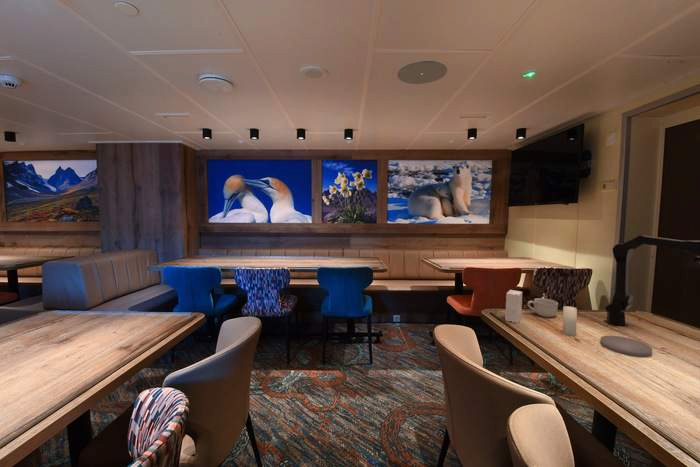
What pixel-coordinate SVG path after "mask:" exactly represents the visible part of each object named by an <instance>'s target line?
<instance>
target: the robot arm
mask: <svg viewBox="0 0 700 467" xmlns="http://www.w3.org/2000/svg"><path fill="white" fill-rule="evenodd" d="M643 245H649V246H657V247H662V248H669V249H677V250H681V251H685V252H687V253H691V254H694V255H695V256H694V258H693V259H692V260H691V263H699V264H700V240H681V239H673V238H666V237H657V236H651V235H646V234H641V235H637V236H636V237H634V238H632V239H630V240H627V241H626V242H623V243H617V244H615V245H613V247H612V255H613V258H614V260H615V264H616V267H615V268H616V269H615V271H616V272H615V274H616V275H615V291H614V293H613V296H612V299H611V303H610V304H608V305H606V306H605V307H604V308H605V311H606V319H604V320H603V321H604V322H605V323H607V324H609V325H613V326H615V327H617V326H621V327H622V326H624V327H628V326H629V324H627V323H626V313H625V312H626V310H627V309H630V308H631V307H632V306H633V305H634V304H635V302H634V297H635V296H634V295H633V294H632V295H630V292H629V278H630V277H629V273H630V272H629V271H630V266H629V265H630V261H631V258H632V256H633V253H634V250H637V249H638V248H640V247H641V246H643Z"/></svg>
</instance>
